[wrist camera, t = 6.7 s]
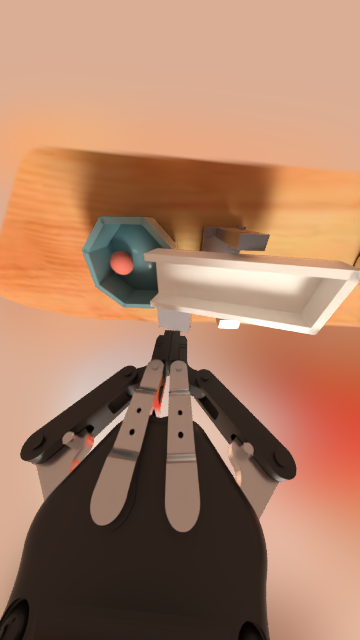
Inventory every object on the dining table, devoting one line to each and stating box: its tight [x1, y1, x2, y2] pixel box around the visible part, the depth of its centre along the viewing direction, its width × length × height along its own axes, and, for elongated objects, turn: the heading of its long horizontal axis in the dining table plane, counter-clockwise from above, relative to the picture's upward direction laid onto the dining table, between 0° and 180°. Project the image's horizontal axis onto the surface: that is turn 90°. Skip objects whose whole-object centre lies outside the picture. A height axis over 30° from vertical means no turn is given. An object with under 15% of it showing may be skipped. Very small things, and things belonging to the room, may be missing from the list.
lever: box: [144, 248, 360, 335], centre depth 15 cm, size 15×9×6 cm, turn 88°
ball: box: [110, 251, 134, 275], centre depth 19 cm, size 3×3×3 cm
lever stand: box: [201, 226, 270, 328], centre depth 16 cm, size 5×9×10 cm, turn 179°
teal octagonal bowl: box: [82, 216, 177, 308], centre depth 18 cm, size 10×10×6 cm
